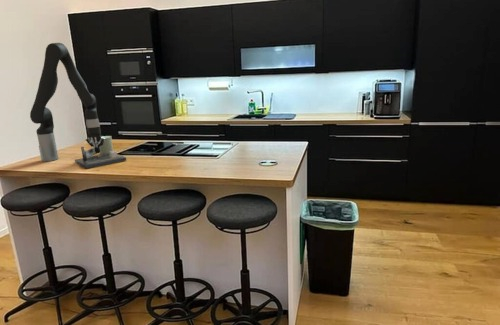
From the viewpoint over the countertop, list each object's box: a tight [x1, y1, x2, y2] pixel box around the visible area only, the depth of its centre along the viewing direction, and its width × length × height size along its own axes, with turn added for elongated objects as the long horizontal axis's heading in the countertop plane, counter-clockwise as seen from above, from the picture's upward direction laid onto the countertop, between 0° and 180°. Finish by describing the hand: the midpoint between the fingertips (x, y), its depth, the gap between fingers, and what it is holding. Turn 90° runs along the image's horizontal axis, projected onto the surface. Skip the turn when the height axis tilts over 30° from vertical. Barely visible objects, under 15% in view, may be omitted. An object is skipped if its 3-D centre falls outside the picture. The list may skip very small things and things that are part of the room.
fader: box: [109, 150, 118, 158], centre depth 217 cm, size 3×4×4 cm
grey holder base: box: [74, 146, 127, 170], centre depth 217 cm, size 24×20×10 cm
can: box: [98, 135, 114, 155], centre depth 236 cm, size 9×9×12 cm
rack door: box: [84, 147, 98, 159], centre depth 223 cm, size 13×2×4 cm, turn 176°
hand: (97, 152), depth 226 cm, fingers closed
